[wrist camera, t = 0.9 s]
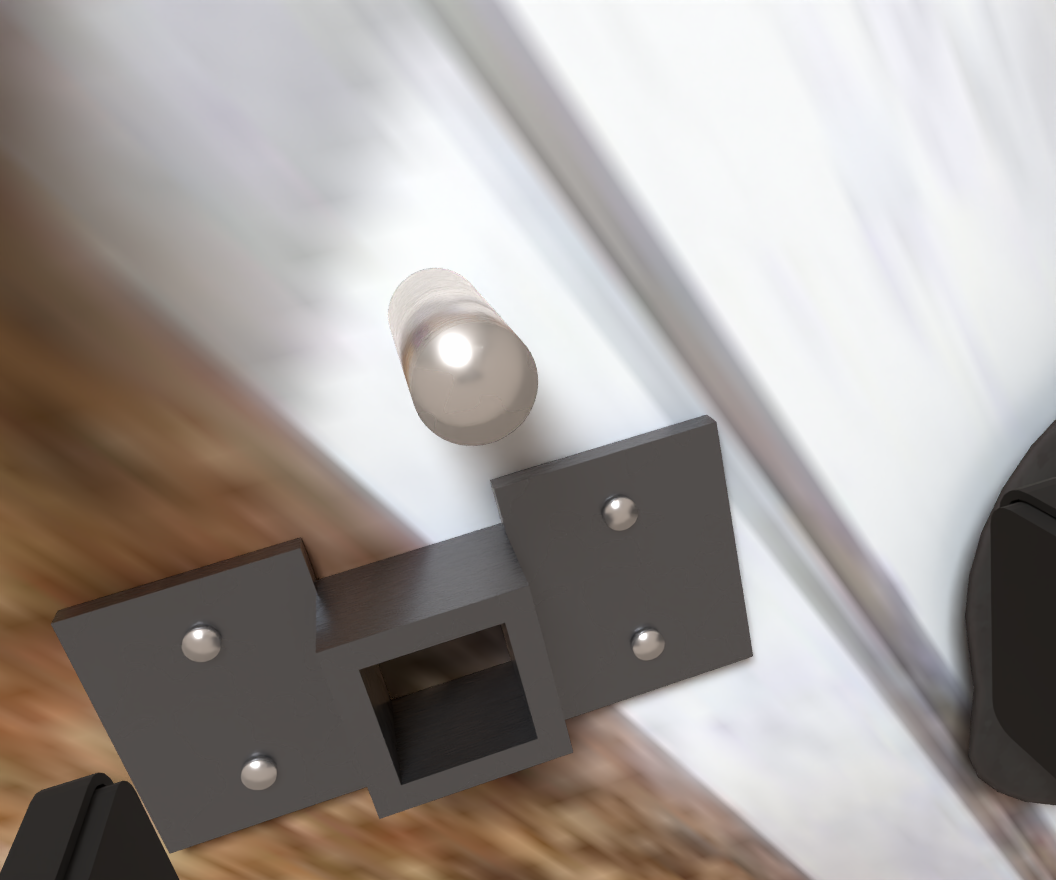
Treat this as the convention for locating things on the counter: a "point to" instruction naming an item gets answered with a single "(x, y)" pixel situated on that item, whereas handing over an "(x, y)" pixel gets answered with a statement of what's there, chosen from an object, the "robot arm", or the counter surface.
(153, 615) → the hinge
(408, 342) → the pin
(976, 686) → the casserole
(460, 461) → the counter surface
